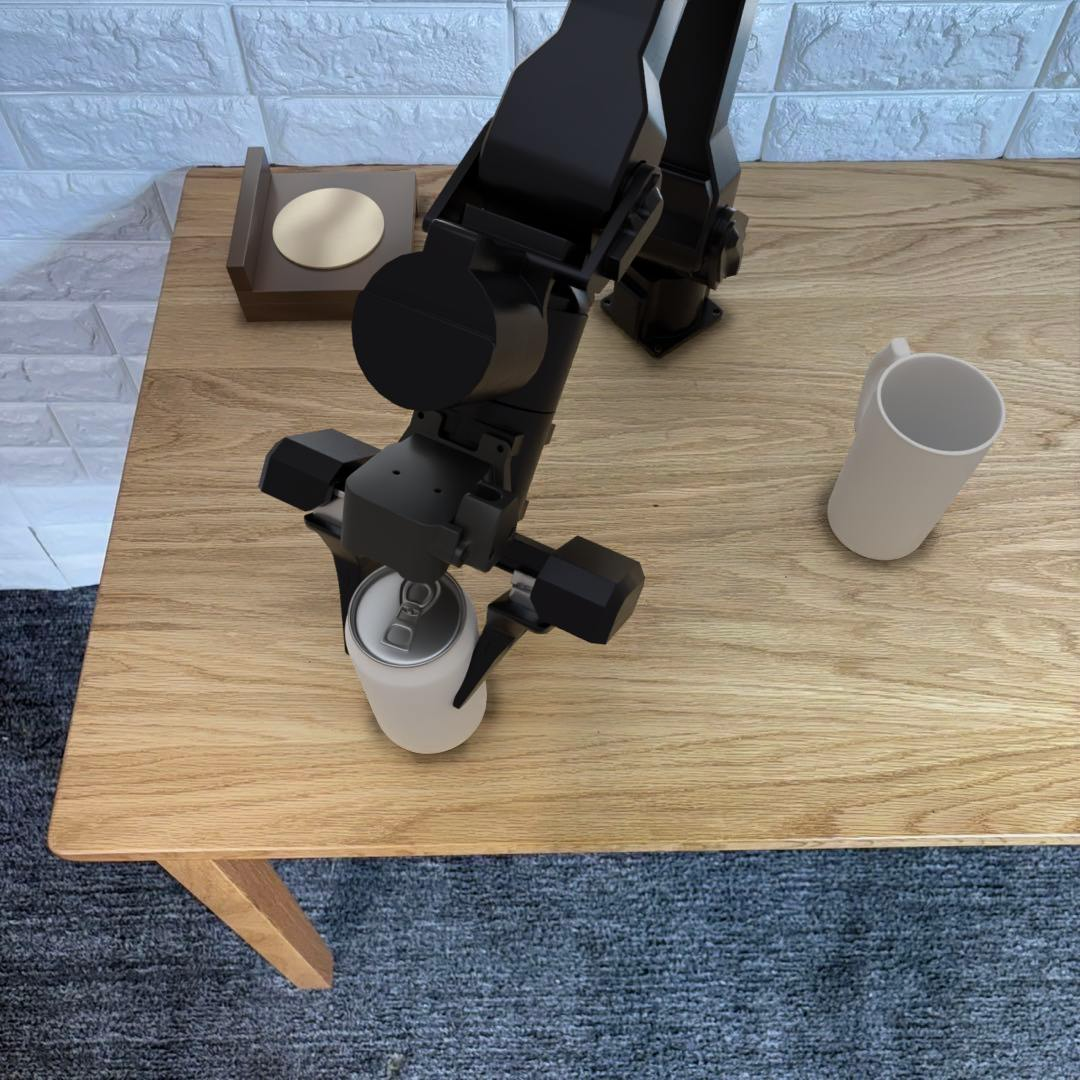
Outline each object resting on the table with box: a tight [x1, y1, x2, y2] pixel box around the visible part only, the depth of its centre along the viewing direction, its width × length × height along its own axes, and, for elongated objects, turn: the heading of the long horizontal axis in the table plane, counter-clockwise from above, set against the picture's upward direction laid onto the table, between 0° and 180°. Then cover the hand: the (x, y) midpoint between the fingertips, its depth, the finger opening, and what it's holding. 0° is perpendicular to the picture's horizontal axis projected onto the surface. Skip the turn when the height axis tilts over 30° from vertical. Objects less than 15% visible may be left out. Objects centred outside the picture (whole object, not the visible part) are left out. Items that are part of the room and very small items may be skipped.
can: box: [345, 566, 488, 755], centre depth 52 cm, size 6×6×12 cm
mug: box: [826, 337, 1007, 561], centre depth 59 cm, size 10×7×12 cm, turn 10°
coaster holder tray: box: [225, 146, 421, 322], centre depth 72 cm, size 12×12×5 cm
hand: (404, 678), depth 51 cm, fingers closed on can, 6 cm apart
